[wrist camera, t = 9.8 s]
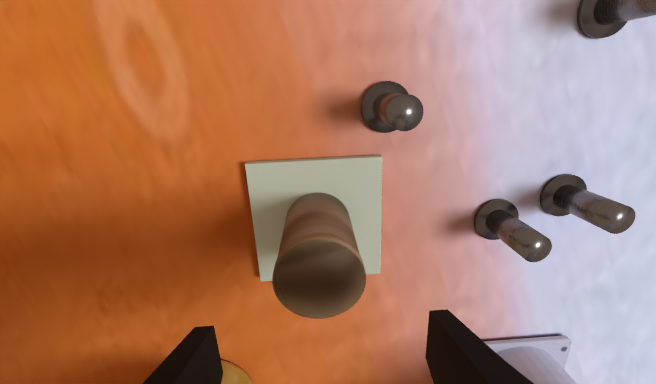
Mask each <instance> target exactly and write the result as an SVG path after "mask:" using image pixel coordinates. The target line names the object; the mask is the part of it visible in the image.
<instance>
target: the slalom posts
mask: <svg viewBox="0 0 656 384" xmlns="http://www.w3.org/2000/svg"><path fill="white" fill-rule="evenodd" d="M653 15H656V0H582V1H581V3H580V6H579V9H578V16H577V19H578V25H579V28H580V30H581V31H582V33H583V34H585V35H586V36H587V37H590V38H596V39H597V38H604V37H608V36H611V35H613V34H615V33H616V32H618V31H619V30H620V29H621V28H622V27H623V26H624V25H625V24H626V23H627V21H629V20H633V19H638V18H643V17H648V16H653ZM361 113H362V117H363V119H364V121H365V122H366V124H367V125H368V126H369V127H370V128H372V129H373V130H375V131H378V132H383V133H387V132H392V131H395V130H400V131H408V130H411V129H413V128H415V127H416V126H417V125H418V124H419V123H420V121H421V119H422V116H423V106H422V103H421V102H420V100H419V99H418V98H417V97H415V96H413V95H409V94H408V92H407V91H406V90H405V88H404V87H403V86H401V85H400V84H398V83H395V82H391V81H385V82H380V83H377V84H375V85H373V86H372V87H371V88H370V89H369V90H368V91H367V92H366V94H365V95H364V97H363V100H362V104H361ZM540 202H541V206H542V208H543V209H544V210H545V211H546V212H548V213H550V214H552V215H554V216H564V215H568V214H570V213H571V214H573V215H575V216H577V217H579V218H581V219H583V220H585V221H587V222H589V223H591V224H593V225H595V226H598V227H600V228H602V229H604V230H606V231H608V232H610V233H613V234H617V233H621V232H623V231H625V230H627V229H628V228H629V227H630V226H631V225H632V224H633V222H634V220H635V211H634V210H633V209H632V208H631V207H629V206H626V205H624V204H621V203H618V202H616V201H613V200H610V199H608V198H605V197H602V196H600V195H597V194H595V193H592V192H589V191H587V187H586V184H585V182H584V181H583V180H582V179H581V178H580V177H578V176H575V175H572V174H563V175H559V176H557V177H555V178H553V179H552V180H550V181H549V182H548V183H547V184H546V186H545V187H544V189H543V190H542V193H541V197H540ZM474 226H475V229H476V231H477V232H478V233H479V234H480V235H481V236H482V237H484V238H486V239H490V240H496V239H501V240H502V241H503V242H504V243H506V244H507V245H508V246H509V247H511V248H512V249H513V250H514V251H516V252H517V253H518V254H519V255H521V256H522V257H523V258H524V259H525V260H527V261H529V262H537V261H540V260H542V259H544V258H545V257H546V256H547V255H548V254H549V253H550V251H551V247H552V244H551V241H550V240H549V239H548V238H547V237H545V236H544V235H542V234H541V233H539V232H538V231H536V230H534V229H533V228H531V227H530V226H528V225H527V224H525V223H524V222H522V221H520V220H519V219H518V211H517V208H516V207H515V206H514V205H513V204H512V203H510V202H508V201H506V200H503V199H495V200H491V201H489V202H487V203H485V204H484V205H482V206H481V207H480V208H479V210H478V211H477V213H476V215H475V218H474Z"/></svg>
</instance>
